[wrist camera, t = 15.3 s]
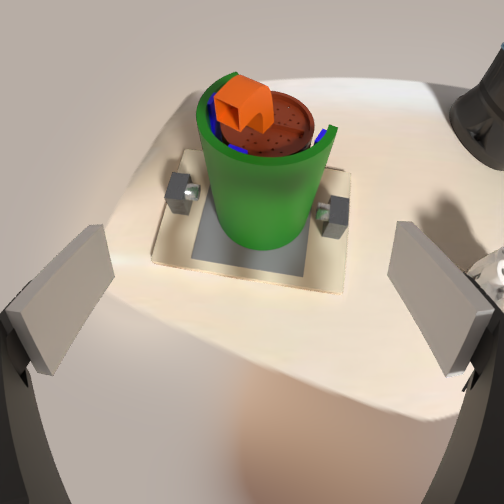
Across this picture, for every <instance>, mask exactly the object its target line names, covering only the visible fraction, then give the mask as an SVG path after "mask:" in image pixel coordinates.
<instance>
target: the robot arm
mask: <svg viewBox="0 0 504 504" xmlns="http://www.w3.org/2000/svg"><path fill="white" fill-rule="evenodd" d="M450 120H451V124H452V126H453V129H454V131H455V133H456V134H457V136H458V138H459V139H460V141H461V142H462V143H463V145H464V146H465V147H466V148H467V149H468V150H469V151H470V153H471V154H472V155H474V156H475V157H476V158H477V159H478V160H479V161H481V162H482V163H484V164H485V165H487V166H488V167H490V168H493V169H495V170H500V171H504V43H502V45H501V49H500V51H499V53H498V54H497V56H496V58H495V59H494V61H493V63H492V64H491V66H490V67H489V69H488V71H487V72H486V73H485V75H484V77H483V78H482V80H481V81H480V83H479V84H478V85H477V86H476V87H474V88H473V89H471V90H470V91H468V92H467V93H466V94H464V95H462V96H460V97H459V98H458V99H457V100H456V101H455V103H454V104H453V106H452V107H451V109H450ZM387 276H388V277H389V279H390V280H391V282H392V283H393V285H394V287H395V288H396V290H397V292H398V293H399V295H400V297H401V298H402V300H403V301H404V303H405V305H406V307H407V308H408V310H409V312H410V313H411V315H412V317H413V318H414V320H415V322H416V324H417V325H418V327H419V329H420V331H421V332H422V334H423V336H424V338H425V340H426V341H427V343H428V345H429V347H430V349H431V351H432V352H433V354H434V356H435V358H436V360H437V362H438V364H439V366H440V368H441V369H442V371H443V373H444V375H445V377H446V378H448V377H453V376H457V375H462V374H463V373H464V371H465V370H466V368H467V366H468V364H469V362H471V363H472V365H473V367H474V368H475V369H474V371H473V372H472V374H471V376H470V378H469V379H468V381H467V383H466V384H465V386H464V388H463V389H462V391H463V392H464V391H465V390H466V388H467V390H466V394H465V397H464V400H463V404H462V407H461V410H460V413H459V416H458V419H457V422H456V425H455V428H454V430H453V433H452V436H451V439H450V441H449V444H448V446H447V449H446V452H445V454H444V456H443V458H442V461H441V463H440V466H439V468H438V470H437V472H436V474H435V477H434V479H433V481H432V483H431V485H430V487H429V490H428V491H427V493H426V495H425V497H424V499H423V501H422V503H421V504H504V313H503V312H502V310H501V309H500V308H499V307H498V306H497V304H496V303H495V302H494V301H493V300H492V299H491V298H490V296H489V295H488V294H486V292H485V291H484V290H483V289H482V288H481V286H480V285H479V284H478V283H477V282H476V281H475V280H474V279H473V278H472V277H470V276H469V275H467V274H466V273H464V272H462V271H461V270H460V269H459V268H458V267H457V266H456V265H455V264H454V263H453V262H452V261H451V260H450V259H449V258H448V257H447V256H446V255H445V254H444V253H443V252H442V251H441V250H440V248H439V247H438V246H437V245H436V244H435V243H433V242H432V241H431V240H430V239H429V238H428V237H427V236H426V235H425V234H424V233H423V232H422V231H421V230H420V229H419V228H418V227H417V226H416V225H415V224H414V223H413V222H406V221H397V226H396V232H395V238H394V243H393V249H392V254H391V259H390V264H389V269H388V274H387ZM114 277H115V276H114V272H113V268H112V263H111V259H110V255H109V250H108V246H107V241H106V237H105V232H104V227H103V224H102V225H89V226H88V227H87V228H85V229H84V230H83V231H82V232H81V233H80V234H79V235H78V236H77V237H76V238H75V239H73V241H71V242H70V243H69V244H68V245H67V246H66V247H65V248H64V249H63V250H62V251H61V252H60V253H59V254H58V255H57V256H56V257H55V258H54V259H53V260H52V261H51V262H50V263H49V264H48V265H47V266H46V267H45V268H44V269H43V270H42V271H41V272H40V273H39V274H38V275H37V276H36V277H35V278H34V279H33V280H31V281H30V282H28V284H27V285H26V286H25V287H24V288H23V289H22V291H20V292H19V293H18V294H17V296H16V297H15V298H14V299H13V300H12V301H11V302H10V303H9V304H8V305H7V306H6V308H5V309H4V310H3V311H2V312H1V313H0V504H71V502H70V500H69V498H68V495H67V493H66V490H65V488H64V485H63V483H62V481H61V478H60V476H59V473H58V470H57V468H56V465H55V462H54V459H53V457H52V454H51V451H50V448H49V445H48V442H47V438H46V435H45V432H44V429H43V425H42V422H41V419H40V414H39V411H38V407H37V403H36V399H35V394H34V390H33V385H32V381H31V376H30V373H29V371H28V370H27V368H26V367H27V365H28V364H29V362H30V361H31V362H32V364H33V366H34V368H35V369H36V371H37V373H41V374H45V375H50V376H54V374H55V372H56V370H57V368H58V367H59V365H60V363H61V361H62V360H63V358H64V356H65V355H66V353H67V351H68V349H69V348H70V346H71V344H72V343H73V341H74V339H75V338H76V336H77V334H78V332H79V331H80V330H81V328H82V326H83V324H84V323H85V321H86V320H87V318H88V317H89V315H90V314H91V312H92V311H93V309H94V307H95V306H96V304H97V303H98V301H99V300H100V298H101V297H102V295H103V294H104V292H105V291H106V289H107V288H108V286H109V285H110V283H111V282H112V280H113V279H114Z"/></svg>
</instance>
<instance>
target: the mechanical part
mask: <svg viewBox="0 0 504 504" xmlns="http://www.w3.org/2000/svg"><path fill="white" fill-rule="evenodd" d="M467 275H469V276H470V277H472V278H473V279H474V280H475V281H476V282H477V283H478V284H479V285H480V286H481V288H482V289H483V290H484V291H485V292H486V294H488V295H489V296H490V298H491V299H492V300H493V301H494V302H495V303H496V304H497V306H498V307H499V308H500V309H501V310H502V312H503V313H504V247H501V248H499V249H498V250H496V251H494V252H492V253H491V254H489V255H487V256H485V257H484V258H482V259H480V260H478V261H477V262H476V263H475V264H474V265H473V266H472V267H471V268H470V270H469V271H468V273H467Z"/></svg>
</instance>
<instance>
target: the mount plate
mask: <svg viewBox="0 0 504 504" xmlns="http://www.w3.org/2000/svg"><path fill="white" fill-rule="evenodd" d="M177 173H185V174H190V176H191V179H192V182H193V184H200V186H201V193H200V197H199V200H198V201H193V203H192V206H191V210H190V213H189V216H188V215H181V214H173V213H172V212H171V210H170V208H169V206H168V204H167V205H166V209H165V212H164V215H163V219H162V222H161V226H160V229H159V233H158V236H157V240H156V243H155V247H154V251H153V254H152V258H151V261H152V262H153V263H154V264H158V265H164V266H169V267H175V268H180V269H185V270H191V271H197V272H202V273H208V274H213V275H219V276H225V277H231V278H236V279H242V280H248V281H254V282H260V283H266V284H272V285H279V286H285V287H291V288H297V289H304V290H310V291H317V292H323V293H330V294H336V295H341V294H342V293H343V290H344V280H345V269H346V257H347V244H348V229H349V220H348V227H347V229H346V230H345V232H344V233H343V235H342V236H341V238H340V239H333V238H327V237H322V229H323V220H317V219H315V214H316V208H317V204H318V202H320V203H325V204H327V203H328V201H329V199H330V196H331V195H334V196H340V197H345V198H350V188H351V173H348V172H343V171H338V170H333V169H328V168H325V169H324V172H323V175H322V178H321V181H320V184H319V186H318V189H317V192H316V195H315V198H314V201H313V204H312V206H311V209H310V212H309V215H308V218H307V220H306V223H305V226H304V228H303V230H302V231H301V233H300V234H299V235H298V236H297V237H296V238H295V239H294V240H293V241H292V242H290V243H289V244H287V245H285V246H283V247H281V248H278V249H274V250H268V251H258V250H252V249H248V248H245V247H243V246H241V245H239V244H237V243H235V242H234V241H233V240H231V239H230V238H229V237H228V236H227V235H226V233H225V232H224V231H223V229H222V227H221V225H220V223H219V220H218V216H217V212H216V207H215V203H214V198H213V194H212V190H211V185H210V181H209V176H208V172H207V167H206V162H205V158H204V153H203V151H201V150H191V149H185V150H184V153H183V156H182V159H181V162H180V165H179V168H178V171H177ZM349 212H350V200H349Z"/></svg>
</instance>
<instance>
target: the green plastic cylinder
mask: <svg viewBox="0 0 504 504" xmlns="http://www.w3.org/2000/svg"><path fill="white" fill-rule="evenodd" d="M288 107H289V108H288ZM196 120H197V125H198V130H199V135H200V139H201V144H202V149H203V153H204V158H205V162H206V167H207V172H208V176H209V181H210V185H211V190H212V194H213V198H214V203H215V207H216V212H217V216H218V220H219V223H220V225H221V227H222V229H223V231H224V232H225V233H226V235H227V236H228V237H229V238H230V239H231V240H233V241H234V242H235V243H237V244H239V245H241V246H243V247H245V248H248V249H252V250H258V251H268V250H274V249H278V248H281V247H283V246H285V245H287V244H289V243H290V242H292V241H293V240H294V239H295V238H296V237H297V236H298V235H299V234H300V233H301V231H302V230H303V228H304V226H305V223H306V220H307V218H308V215H309V212H310V209H311V206H312V204H313V201H314V198H315V195H316V192H317V189H318V186H319V184H320V181H321V178H322V175H323V172H324V169H325V166H326V163H327V160H328V157H329V154H330V151H331V148H332V145H333V142H334V139H335V136H336V133H337V130H338V127H335V126H332V125H329V127H328V129H327V130H325V129H322V131H321V132H320V134H319V135H318V137H317V138H316V140H315V142H314V146H312V147H311V148H310V146H311V141H312V137H313V133H314V119H313V116H312V114H311V112H310V111H309V110H308V108H307V107H306V106H305V105H304V104H303V103H302V102H300V101H299V100H297V99H296V98H294V97H292V96H290V95H287V94H284V93H281V92H276V91H270V89H269V87H268V86H266V85H264V84H261V83H259V82H257V81H254V80H252V79H249V78H247V77H245V76H242V75H239V74H238V73H237V72H233V73H231V74H229V75H226V76H224V77H222V78H221V79H219V80H217V81H216V82H215V83H213V84H212V85H211V86H210V87H209V88H208V89H207V90H206V91H205V92H204V94H203V95H202V97H201V99H200V101H199V103H198V106H197V111H196Z"/></svg>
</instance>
